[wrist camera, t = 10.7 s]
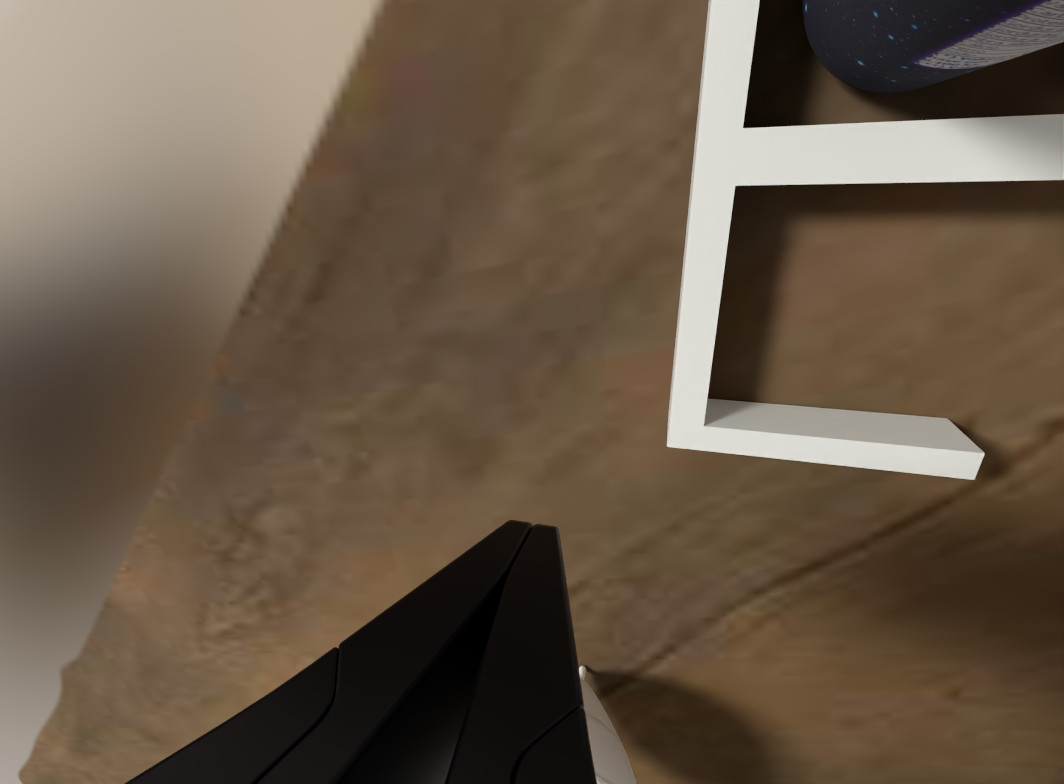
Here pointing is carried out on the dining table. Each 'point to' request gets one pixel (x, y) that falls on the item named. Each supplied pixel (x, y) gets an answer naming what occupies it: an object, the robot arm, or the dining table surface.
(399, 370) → the dining table surface
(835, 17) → the beverage can
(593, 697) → the spinning top
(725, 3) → the white open frame
